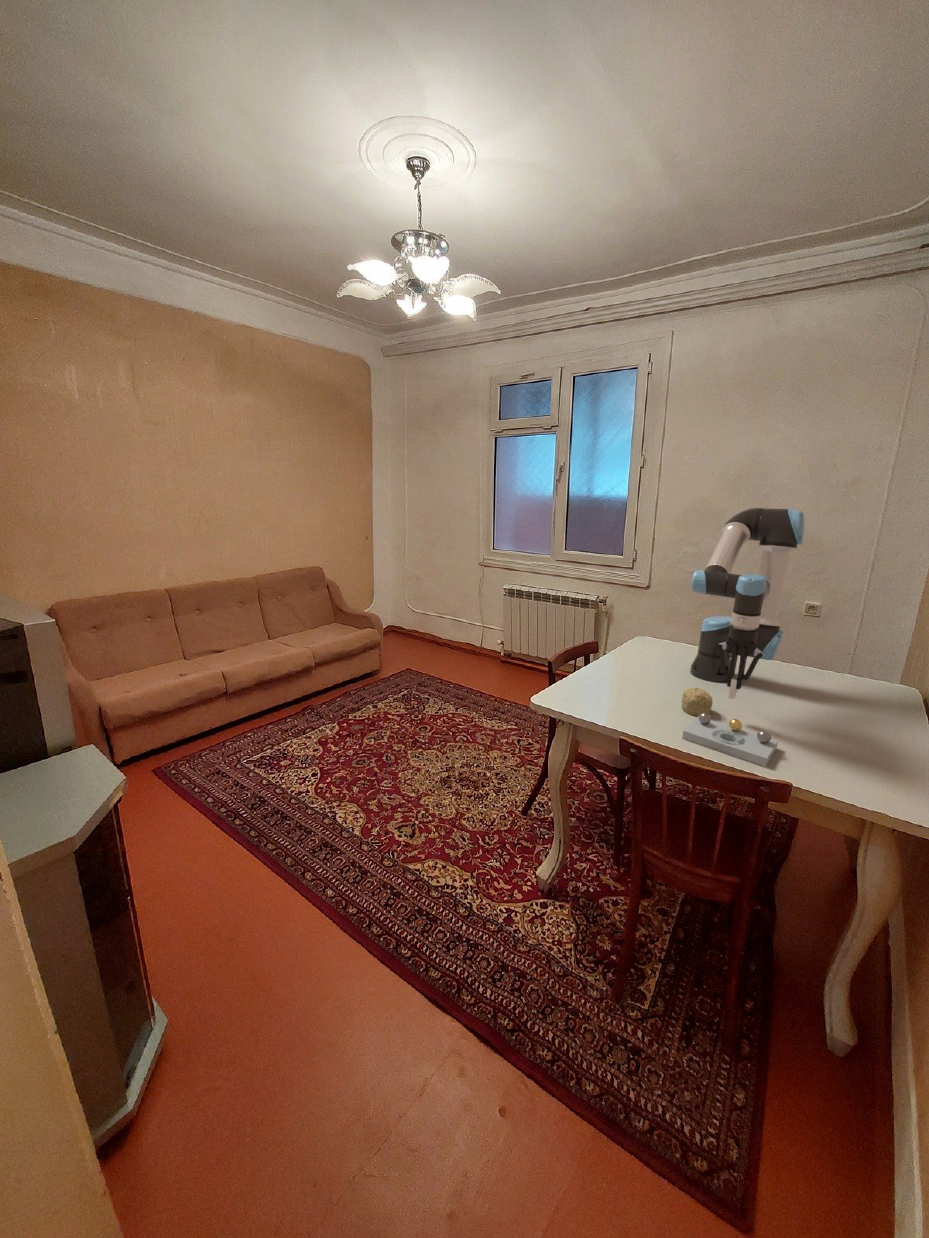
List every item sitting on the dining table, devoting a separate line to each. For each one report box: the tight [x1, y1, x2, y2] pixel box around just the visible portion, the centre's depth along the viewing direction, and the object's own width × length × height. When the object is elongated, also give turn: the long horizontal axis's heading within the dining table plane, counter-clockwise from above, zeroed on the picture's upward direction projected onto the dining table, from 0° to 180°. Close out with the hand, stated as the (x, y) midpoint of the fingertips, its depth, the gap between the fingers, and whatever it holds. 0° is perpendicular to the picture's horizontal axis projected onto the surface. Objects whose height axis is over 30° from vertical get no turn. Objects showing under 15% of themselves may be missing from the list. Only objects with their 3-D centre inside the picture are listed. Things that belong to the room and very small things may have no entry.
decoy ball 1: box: [699, 713, 712, 724], centre depth 153 cm, size 4×4×4 cm
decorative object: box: [681, 687, 713, 717], centre depth 167 cm, size 9×10×10 cm
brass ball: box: [728, 718, 743, 731], centre depth 149 cm, size 4×4×4 cm
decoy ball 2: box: [756, 730, 772, 743], centre depth 142 cm, size 4×4×4 cm
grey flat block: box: [682, 716, 779, 768], centre depth 147 cm, size 13×22×2 cm, turn 48°
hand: (732, 696), depth 159 cm, fingers closed
